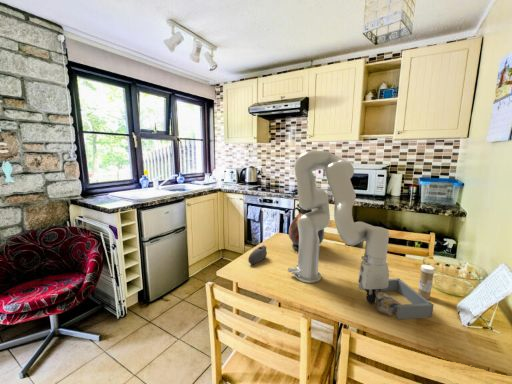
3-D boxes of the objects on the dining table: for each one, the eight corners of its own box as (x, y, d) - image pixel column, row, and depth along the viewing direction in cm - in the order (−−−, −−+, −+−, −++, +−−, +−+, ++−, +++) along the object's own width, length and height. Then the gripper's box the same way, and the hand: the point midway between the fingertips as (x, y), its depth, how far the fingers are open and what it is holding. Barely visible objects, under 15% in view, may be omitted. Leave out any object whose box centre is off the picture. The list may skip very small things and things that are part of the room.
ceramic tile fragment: (369, 289, 100) (395, 292, 98) (369, 296, 101) (394, 299, 99) (379, 308, 88) (408, 312, 87) (378, 316, 89) (407, 320, 87)
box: (398, 319, 87) (399, 307, 86) (369, 290, 105) (370, 279, 104) (431, 317, 88) (433, 304, 87) (397, 288, 106) (399, 278, 105)
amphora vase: (327, 246, 153) (330, 203, 148) (317, 259, 134) (320, 210, 130) (295, 239, 164) (297, 199, 159) (282, 250, 145) (283, 205, 140)
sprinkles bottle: (414, 293, 103) (418, 264, 101) (424, 292, 103) (428, 263, 101) (423, 300, 98) (427, 269, 96) (433, 299, 99) (437, 269, 97)
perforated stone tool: (252, 267, 124) (252, 254, 123) (244, 264, 128) (244, 252, 127) (269, 257, 136) (269, 246, 135) (262, 255, 139) (262, 243, 138)
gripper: (361, 264, 88) (357, 309, 91) (399, 262, 89) (394, 307, 92) (351, 255, 95) (348, 297, 98) (387, 254, 96) (382, 295, 100)
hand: (370, 302), depth 95 cm, fingers closed
